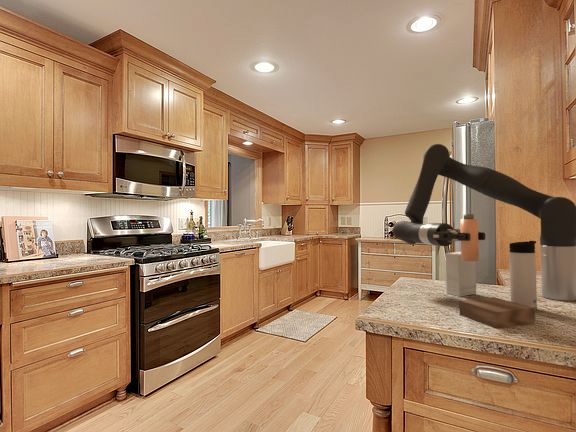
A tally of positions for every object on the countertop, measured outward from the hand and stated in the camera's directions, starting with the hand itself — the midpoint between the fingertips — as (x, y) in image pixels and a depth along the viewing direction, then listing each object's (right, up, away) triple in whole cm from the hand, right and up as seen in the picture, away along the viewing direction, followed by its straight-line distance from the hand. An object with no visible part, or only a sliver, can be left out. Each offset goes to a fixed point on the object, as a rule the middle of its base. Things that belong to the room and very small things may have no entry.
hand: (476, 236), depth 92 cm
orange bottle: (0, -7, +3) cm, 7 cm away
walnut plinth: (+2, -22, -5) cm, 22 cm away
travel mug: (+16, -22, +3) cm, 27 cm away
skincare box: (+8, -22, +23) cm, 33 cm away
